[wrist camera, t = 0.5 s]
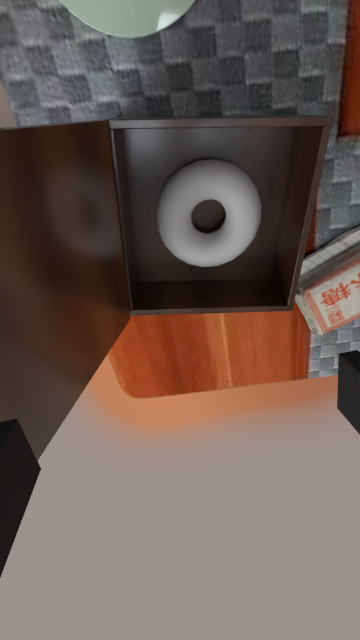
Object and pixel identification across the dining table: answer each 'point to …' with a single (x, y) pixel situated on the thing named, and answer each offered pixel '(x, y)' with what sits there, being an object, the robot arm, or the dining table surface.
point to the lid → (56, 270)
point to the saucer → (129, 15)
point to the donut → (205, 184)
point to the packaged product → (331, 284)
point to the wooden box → (217, 207)
